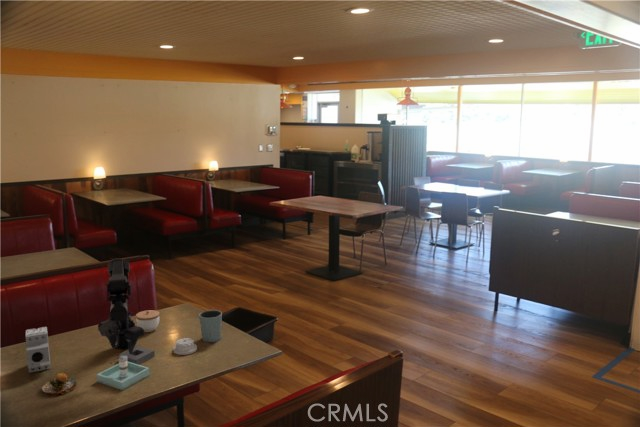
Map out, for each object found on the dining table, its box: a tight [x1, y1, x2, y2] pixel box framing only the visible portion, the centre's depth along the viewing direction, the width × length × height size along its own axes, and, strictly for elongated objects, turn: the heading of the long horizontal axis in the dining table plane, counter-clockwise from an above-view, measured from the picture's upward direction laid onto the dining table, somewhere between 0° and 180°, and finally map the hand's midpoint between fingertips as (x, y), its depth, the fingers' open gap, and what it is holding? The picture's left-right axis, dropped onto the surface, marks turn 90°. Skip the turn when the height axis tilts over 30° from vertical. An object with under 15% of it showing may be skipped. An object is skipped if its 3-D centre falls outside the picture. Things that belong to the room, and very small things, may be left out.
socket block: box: [118, 345, 156, 365], centre depth 224 cm, size 10×10×2 cm
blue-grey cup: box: [198, 309, 223, 343], centre depth 244 cm, size 10×10×12 cm
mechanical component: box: [172, 337, 198, 356], centre depth 232 cm, size 10×4×10 cm
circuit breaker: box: [25, 326, 51, 373], centre depth 212 cm, size 8×14×15 cm, turn 27°
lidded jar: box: [135, 309, 160, 333], centre depth 254 cm, size 11×11×9 cm
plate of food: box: [40, 371, 77, 397], centre depth 199 cm, size 12×12×8 cm
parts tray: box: [96, 361, 151, 391], centre depth 207 cm, size 14×14×3 cm
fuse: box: [118, 355, 128, 378], centre depth 206 cm, size 3×3×8 cm
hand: (122, 350), depth 205 cm, fingers open, 9 cm apart
